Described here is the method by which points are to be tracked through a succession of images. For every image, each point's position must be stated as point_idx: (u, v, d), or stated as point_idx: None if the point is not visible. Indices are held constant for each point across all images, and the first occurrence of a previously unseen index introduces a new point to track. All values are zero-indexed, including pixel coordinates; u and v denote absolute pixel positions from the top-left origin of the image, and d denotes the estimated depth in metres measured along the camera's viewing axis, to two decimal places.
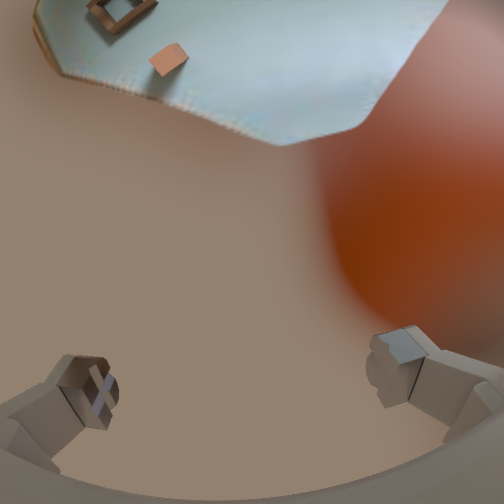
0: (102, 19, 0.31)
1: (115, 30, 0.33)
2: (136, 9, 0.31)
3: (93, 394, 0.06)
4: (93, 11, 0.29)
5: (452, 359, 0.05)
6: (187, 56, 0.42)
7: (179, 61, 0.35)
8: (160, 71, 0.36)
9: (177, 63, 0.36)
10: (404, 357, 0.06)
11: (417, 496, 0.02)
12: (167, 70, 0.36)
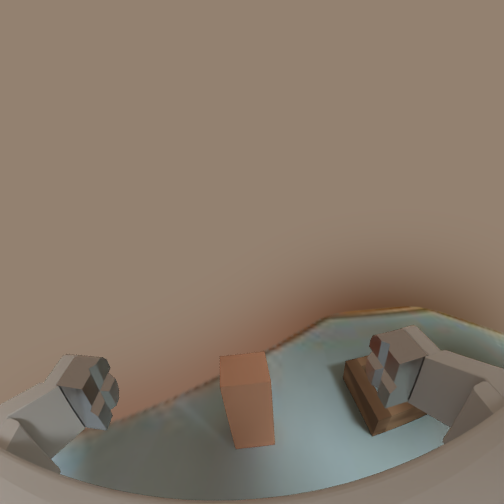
0: None
1: (350, 366, 0.30)
2: (374, 395, 0.24)
3: (93, 394, 0.06)
4: None
5: (452, 359, 0.05)
6: (238, 444, 0.23)
7: (225, 384, 0.20)
8: (229, 357, 0.23)
9: (224, 381, 0.21)
10: (404, 357, 0.06)
11: (417, 496, 0.02)
12: (223, 365, 0.22)
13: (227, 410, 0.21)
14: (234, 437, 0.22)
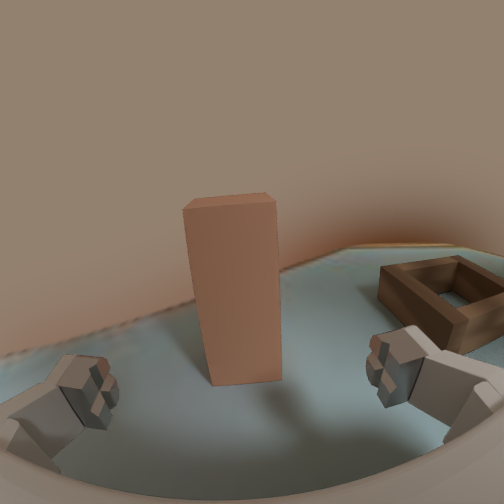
0: (423, 263, 0.22)
1: (389, 270, 0.21)
2: (434, 297, 0.16)
3: (93, 394, 0.06)
4: (444, 258, 0.22)
5: (452, 359, 0.05)
6: (216, 374, 0.14)
7: (193, 207, 0.12)
8: (209, 197, 0.15)
9: (192, 206, 0.12)
10: (404, 357, 0.06)
11: (417, 496, 0.02)
12: (197, 201, 0.14)
13: (194, 276, 0.13)
14: (209, 355, 0.14)
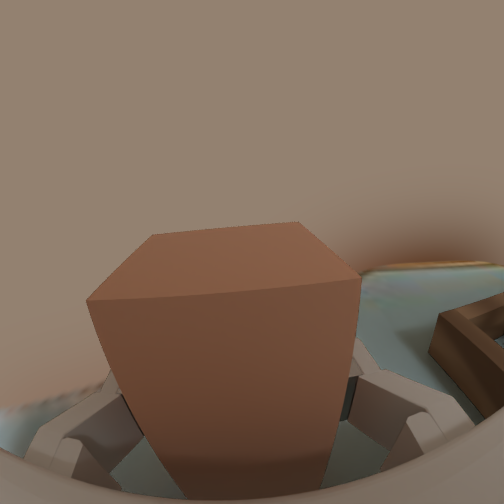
0: (485, 304, 0.13)
1: (451, 321, 0.13)
2: None
3: None
4: None
5: (390, 381, 0.05)
6: None
7: (115, 293, 0.04)
8: (181, 234, 0.07)
9: (120, 282, 0.04)
10: None
11: (417, 496, 0.02)
12: (151, 247, 0.06)
13: (149, 432, 0.04)
14: None
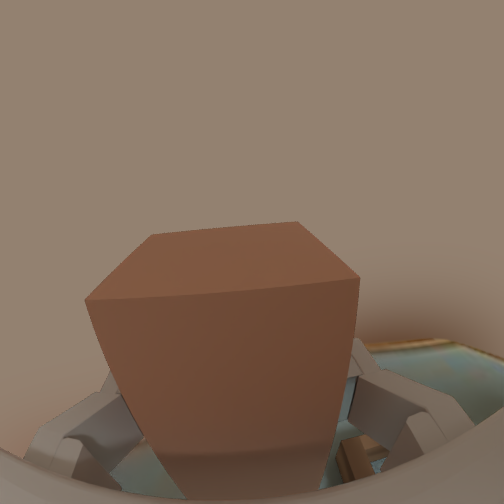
0: None
1: (348, 450, 0.16)
2: None
3: None
4: None
5: (390, 381, 0.05)
6: None
7: (113, 293, 0.04)
8: (180, 234, 0.07)
9: (118, 282, 0.04)
10: None
11: (417, 496, 0.02)
12: (150, 247, 0.06)
13: (148, 432, 0.04)
14: None
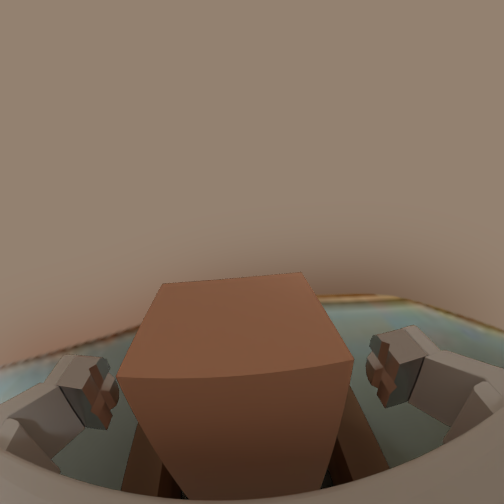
0: None
1: None
2: None
3: (93, 394, 0.06)
4: None
5: (452, 359, 0.05)
6: None
7: (141, 370, 0.04)
8: (190, 287, 0.07)
9: (142, 354, 0.05)
10: (404, 357, 0.06)
11: (417, 496, 0.02)
12: (164, 304, 0.07)
13: (170, 465, 0.05)
14: None
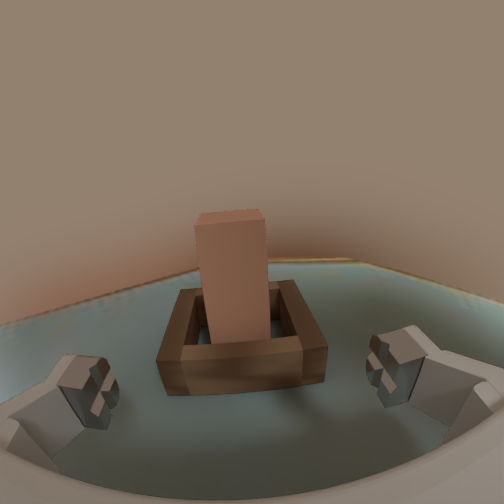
0: None
1: (181, 294, 0.23)
2: (180, 329, 0.18)
3: (93, 394, 0.06)
4: None
5: (452, 359, 0.05)
6: None
7: (202, 223, 0.16)
8: (213, 213, 0.19)
9: (201, 222, 0.16)
10: (404, 357, 0.06)
11: (417, 496, 0.02)
12: (204, 216, 0.18)
13: (203, 276, 0.16)
14: (213, 339, 0.18)
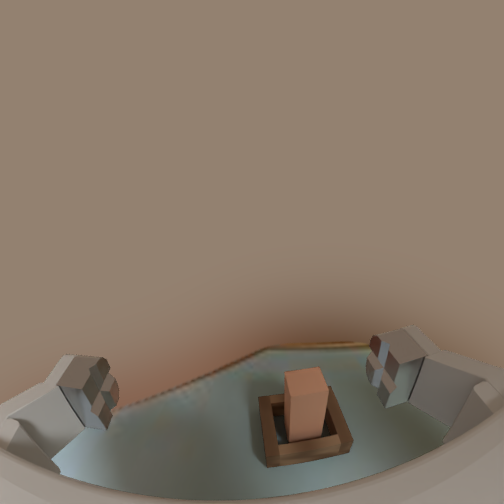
0: None
1: (261, 402, 0.33)
2: (271, 433, 0.27)
3: (93, 394, 0.06)
4: None
5: (451, 359, 0.05)
6: (291, 441, 0.28)
7: (294, 394, 0.25)
8: (293, 372, 0.29)
9: (292, 391, 0.26)
10: (404, 357, 0.06)
11: (417, 496, 0.02)
12: (289, 379, 0.28)
13: (291, 414, 0.26)
14: (290, 436, 0.27)
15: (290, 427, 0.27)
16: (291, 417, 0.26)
